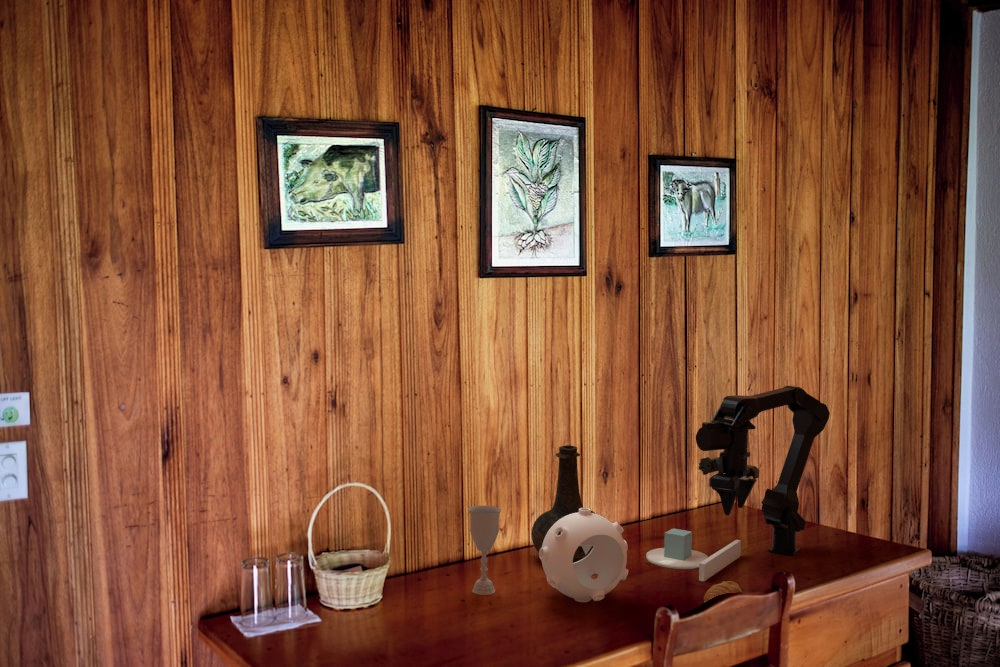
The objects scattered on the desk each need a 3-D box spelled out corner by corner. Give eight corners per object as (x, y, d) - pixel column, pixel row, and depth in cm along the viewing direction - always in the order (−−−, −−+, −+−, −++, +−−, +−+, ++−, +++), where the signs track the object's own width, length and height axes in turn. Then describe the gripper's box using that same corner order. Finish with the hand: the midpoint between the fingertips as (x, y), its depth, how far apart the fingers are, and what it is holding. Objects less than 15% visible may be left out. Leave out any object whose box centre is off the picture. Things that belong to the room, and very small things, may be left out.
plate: (661, 547, 240) (661, 544, 240) (718, 557, 231) (718, 554, 231) (636, 561, 227) (636, 558, 227) (694, 573, 219) (694, 569, 219)
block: (672, 552, 233) (673, 528, 232) (691, 555, 230) (692, 531, 230) (664, 557, 229) (664, 532, 228) (683, 560, 226) (683, 536, 225)
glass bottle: (620, 564, 225) (623, 448, 223) (561, 577, 214) (564, 456, 213) (573, 546, 239) (575, 437, 238) (516, 557, 229) (518, 443, 228)
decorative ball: (605, 582, 211) (607, 496, 210) (643, 607, 195) (645, 514, 194) (523, 591, 204) (524, 502, 203) (556, 618, 188) (557, 522, 187)
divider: (735, 555, 233) (736, 539, 233) (740, 556, 233) (740, 540, 233) (699, 580, 214) (699, 563, 213) (704, 581, 213) (704, 564, 213)
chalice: (504, 588, 206) (505, 507, 205) (494, 598, 200) (495, 514, 199) (473, 584, 209) (474, 504, 208) (462, 593, 202) (463, 511, 201)
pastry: (723, 612, 194) (723, 593, 194) (695, 604, 199) (695, 586, 199) (746, 601, 201) (746, 583, 201) (718, 593, 206) (718, 576, 205)
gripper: (717, 439, 240) (716, 499, 241) (689, 449, 225) (687, 514, 226) (760, 444, 234) (758, 505, 235) (734, 455, 219) (732, 521, 220)
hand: (733, 511), depth 229 cm, fingers open, 9 cm apart
